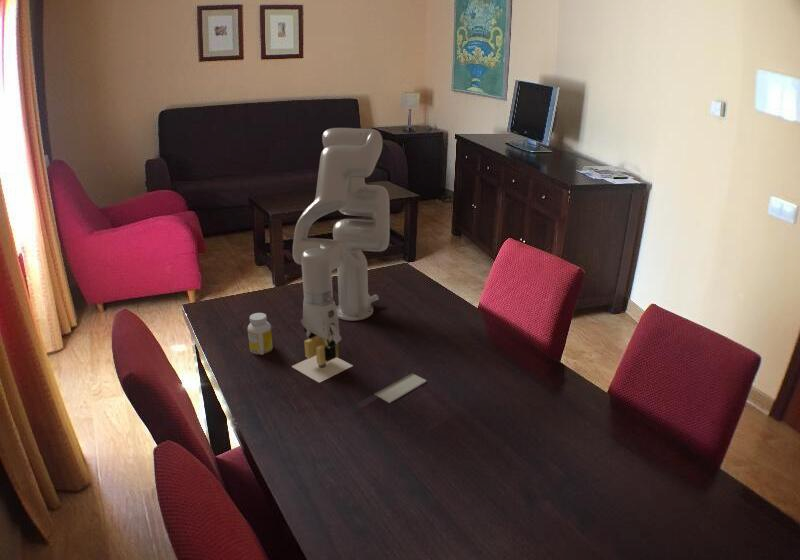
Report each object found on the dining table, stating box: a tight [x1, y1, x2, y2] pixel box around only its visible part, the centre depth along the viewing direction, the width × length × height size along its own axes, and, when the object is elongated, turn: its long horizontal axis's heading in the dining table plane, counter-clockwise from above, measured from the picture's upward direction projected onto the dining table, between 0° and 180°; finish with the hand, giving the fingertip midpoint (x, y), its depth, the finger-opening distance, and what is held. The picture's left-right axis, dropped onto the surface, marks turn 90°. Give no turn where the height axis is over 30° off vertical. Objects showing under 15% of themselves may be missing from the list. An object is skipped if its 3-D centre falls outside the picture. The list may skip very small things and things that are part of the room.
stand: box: [291, 355, 354, 383], centre depth 175 cm, size 12×12×6 cm
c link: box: [303, 335, 340, 365], centre depth 175 cm, size 6×6×5 cm
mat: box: [373, 372, 427, 404], centre depth 170 cm, size 14×14×1 cm
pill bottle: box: [247, 312, 274, 356], centre depth 183 cm, size 6×6×12 cm
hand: (321, 353), depth 175 cm, fingers closed on c link, 6 cm apart
